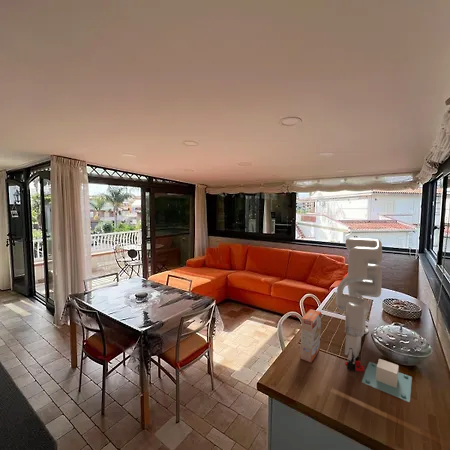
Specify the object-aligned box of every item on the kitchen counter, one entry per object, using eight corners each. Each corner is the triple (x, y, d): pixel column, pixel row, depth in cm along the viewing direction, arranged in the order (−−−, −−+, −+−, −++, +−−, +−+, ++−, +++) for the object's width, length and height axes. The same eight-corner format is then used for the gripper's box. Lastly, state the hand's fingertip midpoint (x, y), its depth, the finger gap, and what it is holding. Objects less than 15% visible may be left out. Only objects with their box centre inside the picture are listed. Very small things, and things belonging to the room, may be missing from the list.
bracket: (359, 367, 110) (359, 360, 110) (363, 374, 105) (364, 367, 105) (344, 365, 111) (345, 359, 111) (348, 372, 106) (348, 366, 106)
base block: (378, 371, 105) (379, 358, 105) (398, 378, 100) (398, 365, 100) (376, 380, 100) (376, 366, 99) (396, 388, 95) (397, 373, 95)
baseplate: (369, 363, 112) (369, 360, 112) (411, 379, 102) (412, 375, 102) (361, 384, 98) (361, 380, 98) (409, 405, 88) (409, 400, 88)
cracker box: (312, 363, 112) (313, 321, 111) (299, 359, 116) (300, 317, 114) (320, 350, 123) (321, 311, 122) (309, 346, 127) (310, 308, 125)
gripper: (349, 320, 116) (348, 355, 117) (340, 334, 103) (339, 373, 104) (367, 325, 112) (365, 361, 113) (359, 340, 98) (358, 381, 100)
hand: (352, 366), depth 109 cm, fingers closed on bracket, 5 cm apart
